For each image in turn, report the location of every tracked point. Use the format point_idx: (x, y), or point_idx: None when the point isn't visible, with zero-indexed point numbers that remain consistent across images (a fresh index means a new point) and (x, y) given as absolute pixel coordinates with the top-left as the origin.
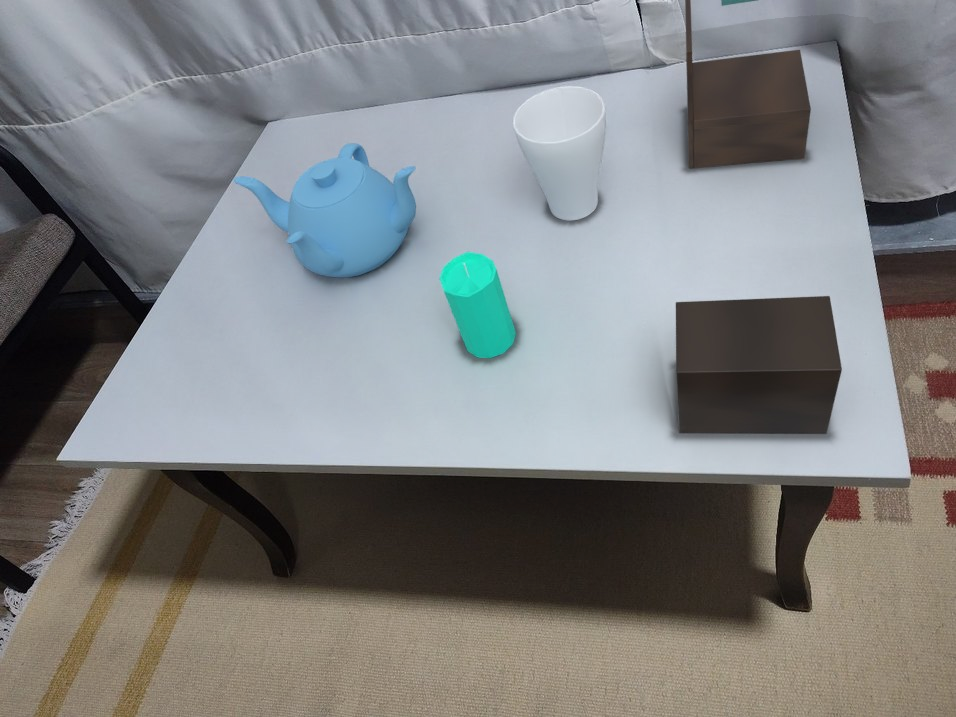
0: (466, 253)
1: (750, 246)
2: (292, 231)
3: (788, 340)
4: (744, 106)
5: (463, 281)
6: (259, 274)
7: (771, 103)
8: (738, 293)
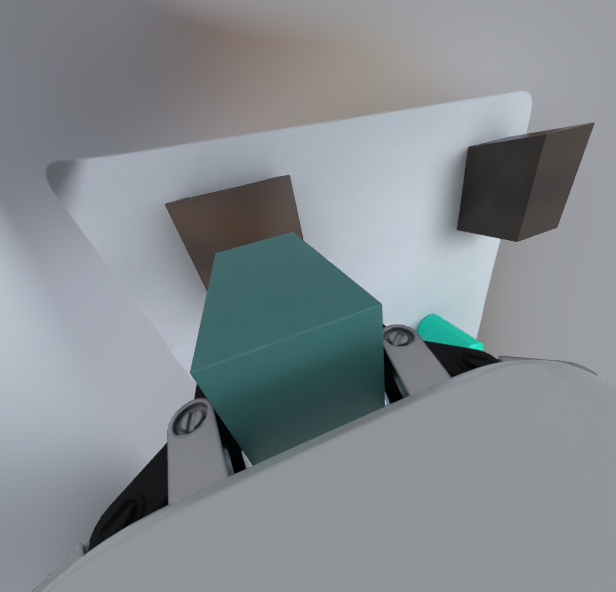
0: None
1: (376, 207)
2: None
3: (564, 162)
4: None
5: None
6: None
7: (282, 220)
8: (414, 207)
